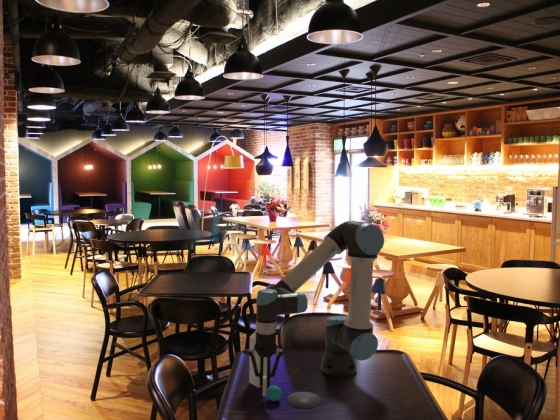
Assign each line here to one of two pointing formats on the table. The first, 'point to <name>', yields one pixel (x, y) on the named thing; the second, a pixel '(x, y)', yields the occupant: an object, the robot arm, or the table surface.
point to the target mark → (303, 400)
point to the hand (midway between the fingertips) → (264, 394)
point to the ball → (273, 393)
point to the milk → (252, 377)
